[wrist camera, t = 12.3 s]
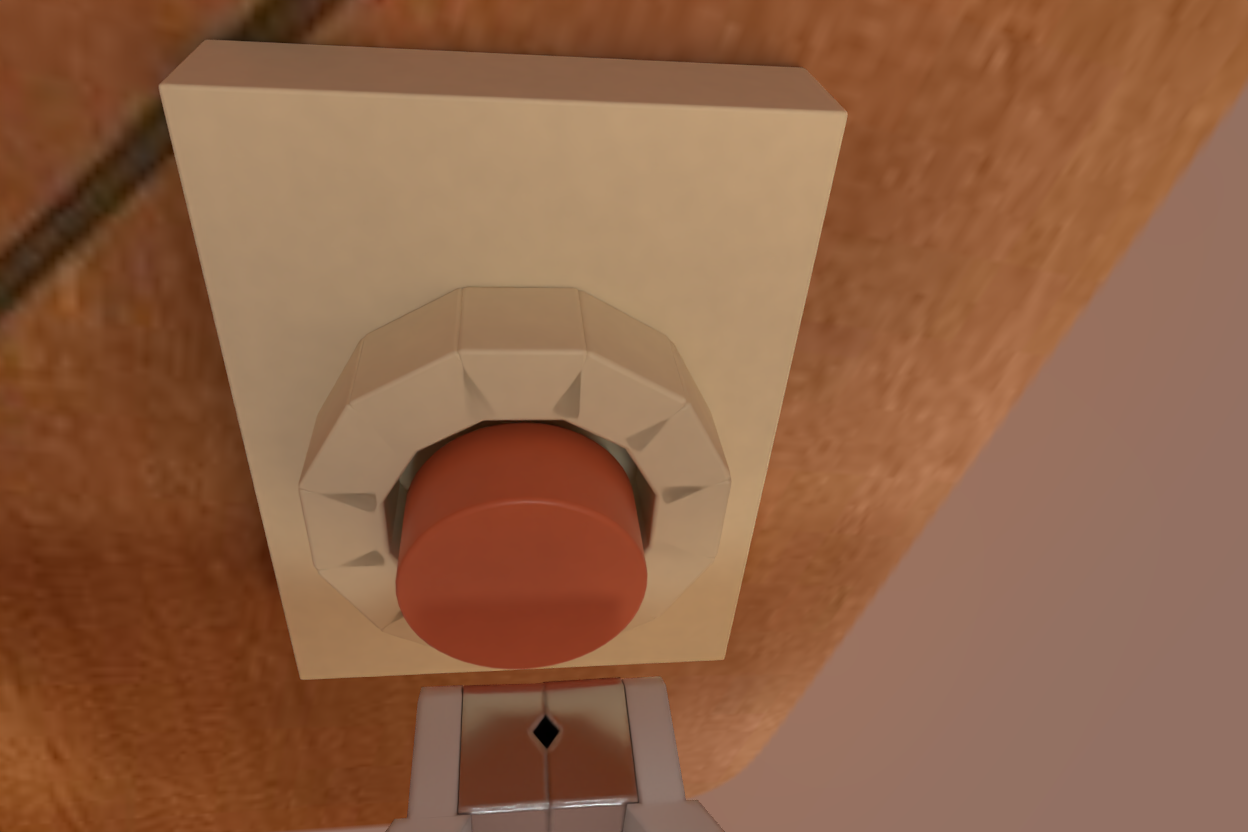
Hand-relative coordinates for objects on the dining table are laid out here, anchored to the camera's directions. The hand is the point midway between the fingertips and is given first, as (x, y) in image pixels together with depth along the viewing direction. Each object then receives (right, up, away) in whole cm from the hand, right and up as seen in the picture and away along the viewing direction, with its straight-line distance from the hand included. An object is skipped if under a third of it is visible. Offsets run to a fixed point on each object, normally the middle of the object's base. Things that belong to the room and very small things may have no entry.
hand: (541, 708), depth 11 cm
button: (-1, +2, +3) cm, 4 cm away
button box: (-1, +4, +6) cm, 7 cm away
